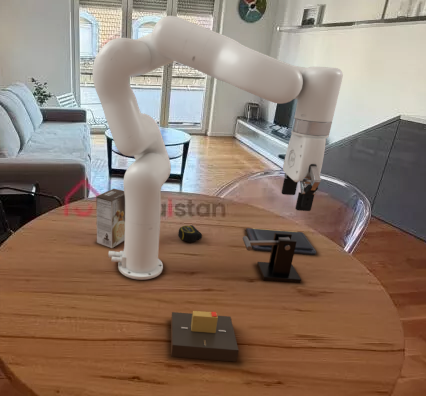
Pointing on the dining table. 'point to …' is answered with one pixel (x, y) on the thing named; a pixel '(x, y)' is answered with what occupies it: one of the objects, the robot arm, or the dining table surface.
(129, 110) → the robot arm
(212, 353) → the plate
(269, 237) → the dark grey flat tray
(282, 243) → the handle bracket
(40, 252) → the dining table surface
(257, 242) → the door handle
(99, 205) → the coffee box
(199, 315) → the thumbturn
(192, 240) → the tape measure
